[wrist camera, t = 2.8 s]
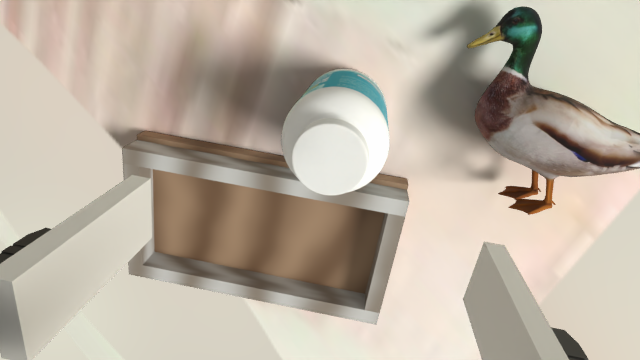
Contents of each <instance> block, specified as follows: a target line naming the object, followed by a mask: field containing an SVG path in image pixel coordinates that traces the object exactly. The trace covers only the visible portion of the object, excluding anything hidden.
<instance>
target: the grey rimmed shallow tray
mask: <svg viewBox="0 0 640 360" xmlns="http://www.w3.org/2000/svg"><path fill="white" fill-rule="evenodd" d="M122 154H123V173H124V180H125V179H127V178H128V177H130V176H131V175H135V176H140V177H146V178H151V210H152V238H151V239H150V240H149V241H148V242H147V243H146V244H145V245H144V246H143V247H142V249H141V250H140V251H139V252H138V253H137V254H136V255H135V256H134V257H133V258H132V259H131V260H130V261H129V262H128V265H129V274H131V275H135V276H140V277H146V278H150V279H155V280H160V281H165V282H170V283H175V284H180V285H184V286H190V287H195V288H199V289H204V290H209V291H214V292H219V293H224V294H229V295H234V296H239V297H243V298H248V299H253V300H258V301H263V302H268V303H273V304H278V305H283V306H287V307H292V308H297V309H302V310H307V311H312V312H317V313H322V314H327V315H332V316H336V317H341V318H346V319H351V320H356V321H361V322H366V323H371V324H377V320H378V317H379V313H380V309H381V305H382V302H383V298H384V294H385V290H386V287H387V283H388V279H389V275H390V272H391V268H392V264H393V260H394V257H395V253H396V249H397V246H398V242H399V238H400V234H401V231H402V227H403V223H404V219H405V216H406V212H407V208H408V204H409V198H408V193H407V188H408V181H407V179H405V178H400V177H394V176H389V175H384V174H378V175H377V176H376V177H375V178H374V179H373V180H372V181H371V182H369V183H368V184H367V185H365V186H363V187H361V188H359V189H357V190H354V191H351V192H347V193H344V194H340V195H322V194H319V193H316V192H314V191H312V190H310V189H308V188H307V187H306V186H305V185H303V184H302V183H301V182H300V180H299V179H298V178H297V177H296V176H295V175H294V174H293V172H292V171H291V170H290V168H289V166H288V165H287V163H286V160H285V158H284V156H280V155H275V154H269V153H264V152H259V151H253V150H248V149H242V148H237V147H231V146H226V145H220V144H215V143H210V142H204V141H199V140H193V139H188V138H182V137H177V136H172V135H166V134H161V133H155V132H150V131H143V132H142V133H140V134H138V135H137V140H136V141H134V142H132V143H130V144H129V145H127V146H125V147H123V148H122Z"/></svg>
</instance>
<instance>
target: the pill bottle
mask: <svg viewBox="0 0 640 360" xmlns="http://www.w3.org/2000/svg"><path fill="white" fill-rule="evenodd" d="M389 143H390V139H389V129H388V120H387V109H386V102H385V98H384V95H383V93H382V91H381V89H380V88H379V86H378V85H377V83H376V82H375V81H374V80H373V79H372V78H370V77H369V76H368V75H366V74H364V73H362V72H360V71H357V70H353V69H336V70H332V71H329V72H327V73H325V74H323V75H322V76H320V77H319V78H317V79H316V80H315V81H314V82H313V83H312V85H311V86H310V87H309V88H308V89H307V91H306V92H305V93H304V94H303V96H302V97H301V98H300V99H299V100H298V101H297V103H296V104H295V105H294V106H293V107H292V109H291V110H290V112H289V113H288V115H287V117H286V119H285V122H284V125H283V129H282V136H281V145H282V151H283V155H284V158H285V160H286V163H287V165H288V166H289V168H290V170H291V171H292V172H293V174H294V175H295V176H296V177H297V178H298V179H299V180H300V182H301V183H302V184H303V185H305V186H306V187H307V188H308V189H310V190H312V191H314V192H316V193H319V194H322V195H340V194H344V193H347V192H351V191H354V190H357V189H359V188H361V187H363V186H365V185H367V184H368V183H369V182H371V181H372V180H373V179H374V178H375V177H376V176H377V175H378V173H379V172H380V171H381V169H382V168H383V166H384V164H385V161H386V159H387V155H388V152H389Z"/></svg>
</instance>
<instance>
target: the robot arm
mask: <svg viewBox="0 0 640 360" xmlns="http://www.w3.org/2000/svg"><path fill="white" fill-rule="evenodd" d="M151 238H152V210H151V178H146V177H140V176H135V175H131V176H130V177H128V178H127V179H125V180H124V181H122V182H121V183H120V184H118V185H116V186H115V187H114V188H112V189H111V190H109V191H108V192H106V193H105V194H103V195H102V196H100V197H99V198H97V199H96V200H94V201H93V202H91V203H90V204H88V205H87V206H85V207H84V208H83V209H81V210H80V211H78V212H76V213H75V214H73V215H72V216H70V217H69V218H67V219H66V220H65V221H63V222H62V223H60V224H59V225H57V226H56V227H54V228H53V229H49V228H44V229H42V230H39V231H36V232H34V233H31V234H28V235H26V236H25V237H23V238H22V239H20V240H19V241H17V242H15V243H14V244H13V246H9V247H8V248H6V249H5V250H3V251H2V253H1V254H0V353H1V357H2V358H4V359H9V360H32V359H33V358H34V357H35V356H36V355H37V354H38V353H39V352H40V351H41V350H42V349H43V348H44V347H45V346H46V345H47V344H48V343H49V342H50V341H51V340H52V339H53V338H54V337H55V336H56V335H57V334H58V333H59V332H60V331H61V330H62V329H63V328H64V327H65V326H66V325H67V324H68V323H69V322H70V321H71V320H72V319H73V318H74V317H75V316H76V315H77V314H78V313H79V312H80V311H81V310H82V309H83V308H84V307H85V305H86V304H87V303H88V302H89V301H90V300H91V299H92V298H93V297H94V296H95V295H96V294H97V293H98V292H99V291H100V290H101V289H102V288H103V287H104V286H105V285H106V284H107V283H108V282H109V281H110V280H111V279H112V278H113V277H114V276H115V275H116V274H117V273H118V272H119V271H120V270H121V269H122V268H123V267H124V266H125V265H126V264H127V263H128V262H129V261H130V260H131V259H132V258H133V257H134V256H135V255H136V254H137V253H138V252H139V251H140V250H141V249H142V247H143V246H144V245H145V244H146V243H147V242H148V241H149V240H150V239H151ZM463 300H464V304H465V307H466V310H467V313H468V316H469V320H470V323H471V326H472V329H473V332H474V335H475V339H476V342H477V345H478V348H479V351H480V354H481V358H482V360H588V358H587V356H586V355H585V353H584V351H583V350H582V348H581V347H580V345H579V344H578V343H577V342H576V341H575V340H574V339H573V338H572V337H571V336H570V335H569V334H568V333H567V332H566V331H564V330H561V329H556V328H551V327H550V325H549V323H548V321H547V320H546V318H545V316H544V314H543V313H542V311H541V309H540V307H539V306H538V304H537V302H536V300H535V298H534V297H533V295H532V293H531V291H530V290H529V288H528V286H527V284H526V283H525V281H524V279H523V277H522V275H521V274H520V272H519V270H518V268H517V267H516V265H515V263H514V261H513V260H512V258H511V256H510V254H509V252H508V251H507V249H506V247H505V246H504V245H499V244H494V243H488V242H484V244H483V246H482V249H481V252H480V254H479V257H478V260H477V263H476V265H475V268H474V271H473V274H472V276H471V279H470V282H469V284H468V287H467V290H466V293H465V295H464V298H463Z"/></svg>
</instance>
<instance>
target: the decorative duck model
mask: <svg viewBox="0 0 640 360" xmlns="http://www.w3.org/2000/svg"><path fill="white" fill-rule="evenodd" d="M541 34H542V24H541V20H540V17H539V15H538V13H537V12H536V11H535V10H533V9H532V8H529V7H517V8H514V9H512V10H510V11H509V12H508V13H507V14H505V15H504V17H503V18H502V19H501V20H500V22H499V23H498V24H497V25H496V27H495V28H493V29H492V30H491V31H490V32H488V33H487V34H485V35H483V36H482V37H480V38H478V39H476V40H475V41H473V42H472V43H470V44H468V45H467V47H468V48H474V47H477V46H480V45H484V44H487V43H491V42H495V41H504V42H508V43H511V44H512V45H513V52H512V54H511V56H510V58H509V59H508V61H507V62H506V64H505V66H504V67H503V69H502V70H501V71H500V73H499V74H498V75H497V77H496V78H495V79H494V80H493V82H492V83H491V84H490V85H489V87H488V88H487V89H486V91H485V92H484V93H483V95H482V97H481V98H480V100H479V102H478V104H477V107H476V111H475V120H476V123H477V126H478V128H479V130H480V132H481V133H482V135H483V137H484V138H485V139H486V140H487V142H488V143H489V144H490V146H491V147H492V148H493V149H494V150H496V151H497V152H498V153H499V154H501V155H502V156H504V157H506V158H507V159H509V160H512V161H514V162H517V163H519V164H522V165H524V166H526V167H528V168H530V169H532V185H531V187H530V188H526V187H517V186H507V187H505V188H506V189H505V190H504V191H503V192H500V193H498V194H500V195H505V196H509V197H512V198H514V199H516V200H517V201H516V203H515V204H513V205H512V206H510V207H508V208H513V209H517V210H521V211H524V212H526V213H528V215H529V214H534V213H538V212H540V211H543V210H545V209H548V208H552V203H553V204H554V205H556V204H555V203H554V202H553V201H552V192H553V183H554V179H555V178H556V177H558V176H567V177H578V176H594V175H602V174H610V173H618V172H624V171H629V170H634V169H639V168H640V133H638V132H636V131H633V130H631V129H629V128H626V127H624V126H621V125H618V124H616V123H613V122H612V121H610V120H608V119H606V118H605V117H603V116H602V115H600V114H599V113H597V112H595V111H594V110H592V109H591V108H589V107H587V106H586V105H584V104H582V103H580V102H578V101H576V100H574V99H572V98H569V97H567V96H564V95H561V94H558V93H555V92H552V91H548V90H544V89H540V88H536V87H533V86H532V85H530V83H529V80H528V72H529V67H530V64H531V62H532V59H533V57H534V54H535V52H536V49H537V47H538V44H539V41H540V38H541ZM538 173H539V174H540V175H542V176H543V177H545V178H546V196H545V199H544V200H543V201H542V200H529V199H521V198H525V197H529V196H531V195H537V194H538V190H539V191H540V189H539V188H538ZM540 192H541V191H540Z"/></svg>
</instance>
